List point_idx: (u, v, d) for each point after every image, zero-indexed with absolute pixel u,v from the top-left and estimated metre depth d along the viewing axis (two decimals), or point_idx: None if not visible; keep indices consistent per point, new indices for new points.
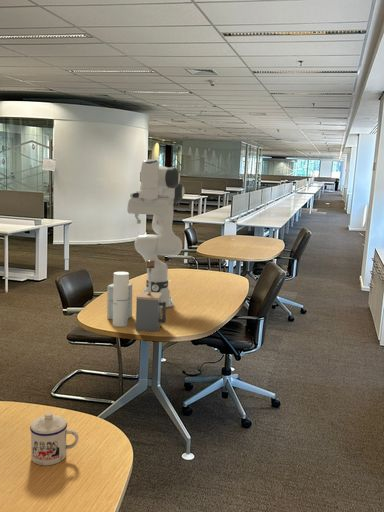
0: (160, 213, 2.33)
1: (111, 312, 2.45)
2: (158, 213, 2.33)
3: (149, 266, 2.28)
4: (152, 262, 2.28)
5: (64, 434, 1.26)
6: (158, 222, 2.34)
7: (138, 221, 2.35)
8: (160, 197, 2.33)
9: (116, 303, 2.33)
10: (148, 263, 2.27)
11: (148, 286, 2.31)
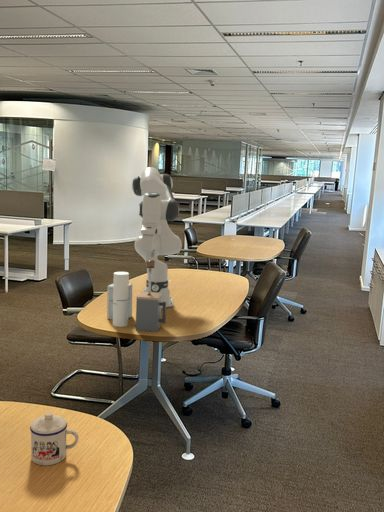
0: (156, 245, 2.34)
1: (111, 312, 2.45)
2: (156, 245, 2.33)
3: (149, 266, 2.28)
4: (152, 262, 2.28)
5: (64, 434, 1.26)
6: (154, 254, 2.33)
7: (150, 258, 2.24)
8: None
9: (116, 303, 2.33)
10: (148, 263, 2.27)
11: (148, 286, 2.31)
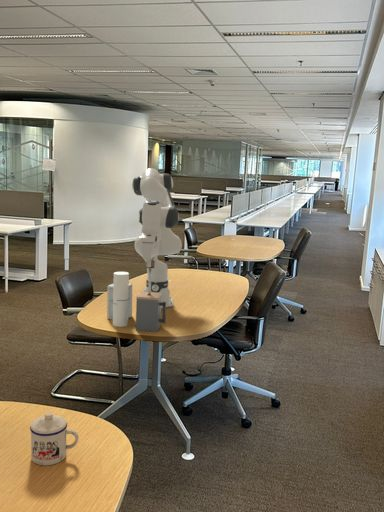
0: (156, 252, 2.34)
1: (111, 312, 2.45)
2: (156, 252, 2.33)
3: None
4: (152, 262, 2.28)
5: (64, 434, 1.26)
6: None
7: None
8: None
9: (116, 303, 2.33)
10: None
11: (148, 286, 2.31)
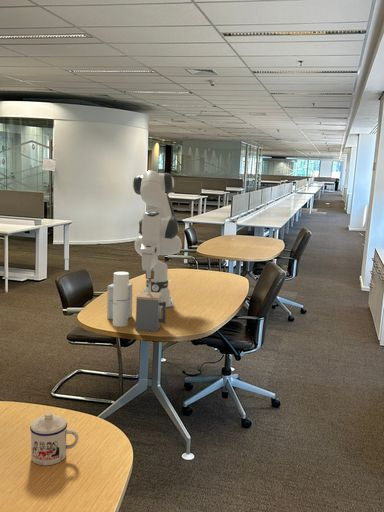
0: (156, 263, 2.35)
1: (111, 312, 2.45)
2: (155, 263, 2.34)
3: None
4: (152, 273, 2.28)
5: (64, 434, 1.26)
6: None
7: (150, 275, 2.27)
8: None
9: (116, 303, 2.33)
10: None
11: None
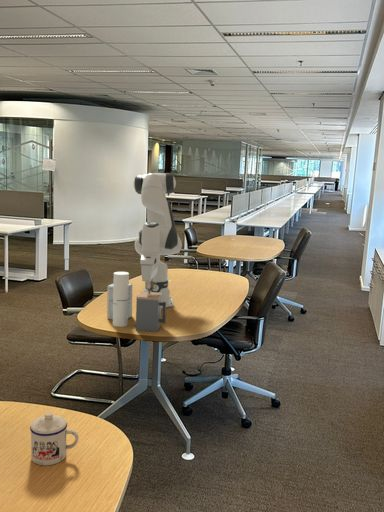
0: (155, 273, 2.36)
1: (111, 312, 2.45)
2: (155, 273, 2.35)
3: None
4: (151, 283, 2.29)
5: (64, 434, 1.26)
6: None
7: (150, 286, 2.28)
8: None
9: (116, 303, 2.33)
10: None
11: None
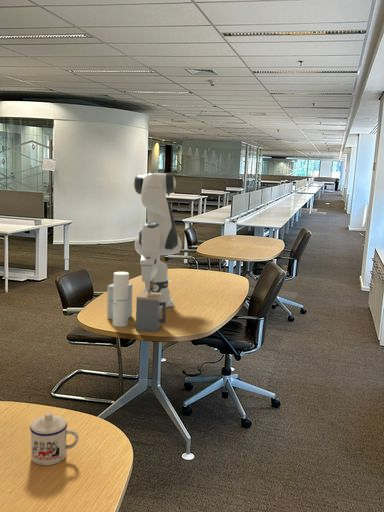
0: (155, 273, 2.36)
1: (111, 312, 2.45)
2: (155, 274, 2.35)
3: None
4: (151, 284, 2.29)
5: (64, 434, 1.26)
6: None
7: (149, 287, 2.26)
8: None
9: (116, 303, 2.33)
10: None
11: None
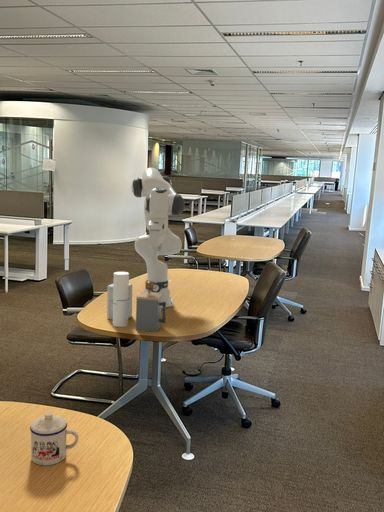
0: (163, 239, 2.37)
1: (111, 312, 2.45)
2: (163, 240, 2.36)
3: (148, 288, 2.29)
4: (151, 284, 2.29)
5: (64, 434, 1.26)
6: (161, 249, 2.37)
7: (157, 252, 2.27)
8: None
9: (116, 303, 2.33)
10: (147, 285, 2.29)
11: None
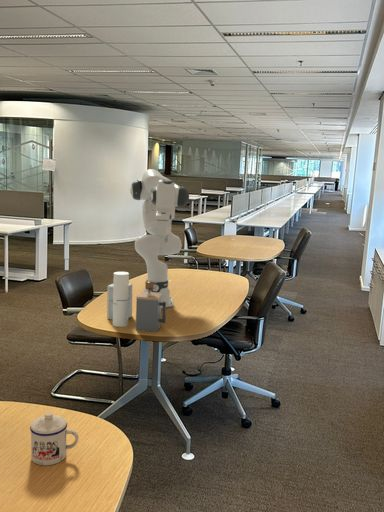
0: (170, 231, 2.40)
1: (111, 312, 2.45)
2: (169, 231, 2.39)
3: (148, 288, 2.29)
4: (151, 284, 2.29)
5: (64, 434, 1.26)
6: (167, 240, 2.40)
7: (164, 243, 2.30)
8: None
9: (116, 303, 2.33)
10: (147, 285, 2.29)
11: None
